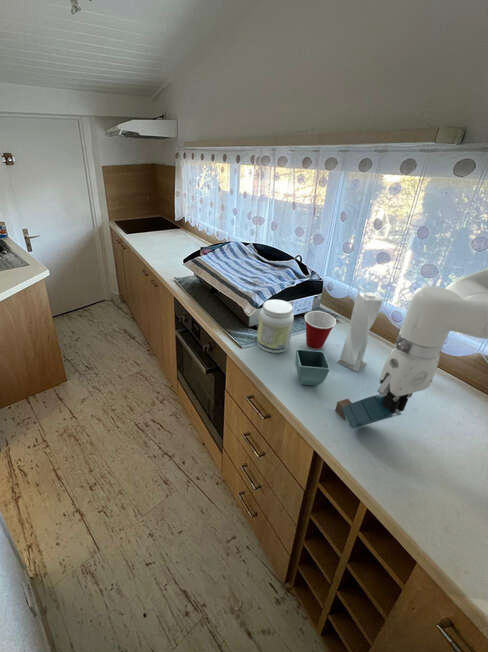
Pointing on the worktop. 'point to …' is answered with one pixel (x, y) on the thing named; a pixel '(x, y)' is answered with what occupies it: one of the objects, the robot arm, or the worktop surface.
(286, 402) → the worktop surface
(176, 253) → the worktop surface
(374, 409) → the teal handled scoop
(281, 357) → the worktop surface
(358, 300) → the skyscraper
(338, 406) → the block
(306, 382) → the flower pot
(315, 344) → the plastic cup
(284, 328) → the supplement tub
